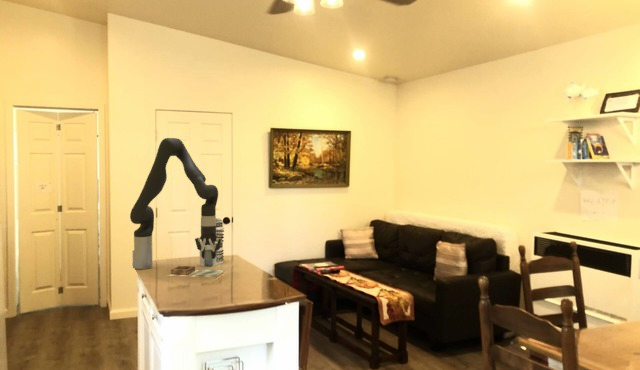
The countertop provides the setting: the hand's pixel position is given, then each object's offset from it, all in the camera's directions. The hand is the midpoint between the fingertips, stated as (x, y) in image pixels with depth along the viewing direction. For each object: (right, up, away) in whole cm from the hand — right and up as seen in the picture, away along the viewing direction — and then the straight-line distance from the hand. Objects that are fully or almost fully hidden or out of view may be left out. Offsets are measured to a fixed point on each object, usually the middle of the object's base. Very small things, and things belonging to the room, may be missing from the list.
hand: (208, 258), depth 240 cm
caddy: (-7, -9, +1) cm, 11 cm away
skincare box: (-5, -8, +20) cm, 22 cm away
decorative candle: (-3, -8, +33) cm, 34 cm away
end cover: (0, -4, 0) cm, 4 cm away
